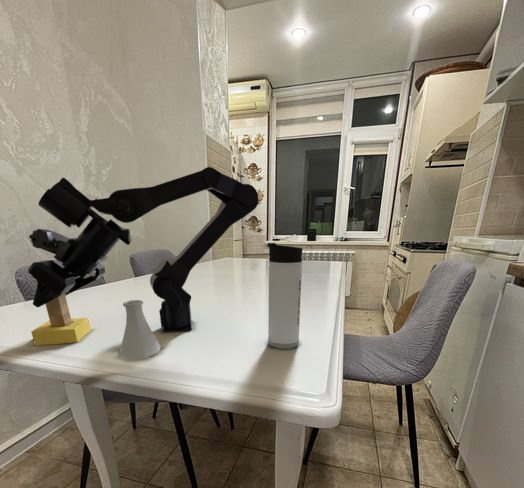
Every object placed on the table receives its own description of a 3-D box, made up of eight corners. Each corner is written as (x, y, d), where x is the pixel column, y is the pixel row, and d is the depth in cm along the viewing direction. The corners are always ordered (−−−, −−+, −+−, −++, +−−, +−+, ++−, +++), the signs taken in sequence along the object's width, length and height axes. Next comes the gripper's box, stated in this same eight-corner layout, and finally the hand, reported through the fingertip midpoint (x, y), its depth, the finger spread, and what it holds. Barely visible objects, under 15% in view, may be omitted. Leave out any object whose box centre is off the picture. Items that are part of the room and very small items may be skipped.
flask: (147, 362, 52) (139, 308, 48) (111, 358, 53) (101, 305, 50) (167, 346, 59) (161, 298, 55) (135, 344, 60) (127, 296, 56)
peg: (75, 334, 65) (60, 276, 61) (68, 339, 62) (53, 278, 58) (61, 335, 65) (46, 276, 60) (54, 339, 62) (38, 279, 58)
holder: (91, 329, 68) (88, 317, 67) (77, 342, 61) (74, 329, 60) (53, 332, 67) (49, 319, 66) (34, 345, 59) (30, 331, 58)
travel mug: (262, 340, 62) (261, 242, 55) (289, 336, 64) (292, 241, 57) (274, 351, 56) (276, 244, 49) (304, 346, 59) (309, 243, 52)
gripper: (79, 215, 64) (39, 267, 67) (24, 211, 47) (-27, 281, 49) (122, 252, 68) (83, 299, 70) (86, 260, 50) (35, 323, 53)
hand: (49, 300), depth 61 cm, fingers open, 9 cm apart
